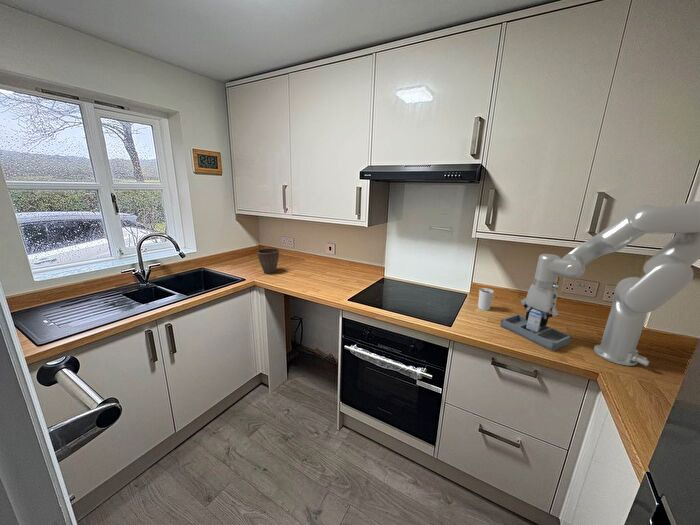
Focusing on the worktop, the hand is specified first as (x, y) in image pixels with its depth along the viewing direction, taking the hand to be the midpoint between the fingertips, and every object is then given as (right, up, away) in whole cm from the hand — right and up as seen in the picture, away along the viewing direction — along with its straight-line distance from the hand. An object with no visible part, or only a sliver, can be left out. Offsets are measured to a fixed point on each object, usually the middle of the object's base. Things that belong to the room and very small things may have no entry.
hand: (535, 322), depth 123 cm
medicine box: (0, -3, +1) cm, 3 cm away
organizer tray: (0, -6, +2) cm, 6 cm away
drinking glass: (-10, +2, +27) cm, 29 cm away
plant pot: (-138, +19, +81) cm, 161 cm away
